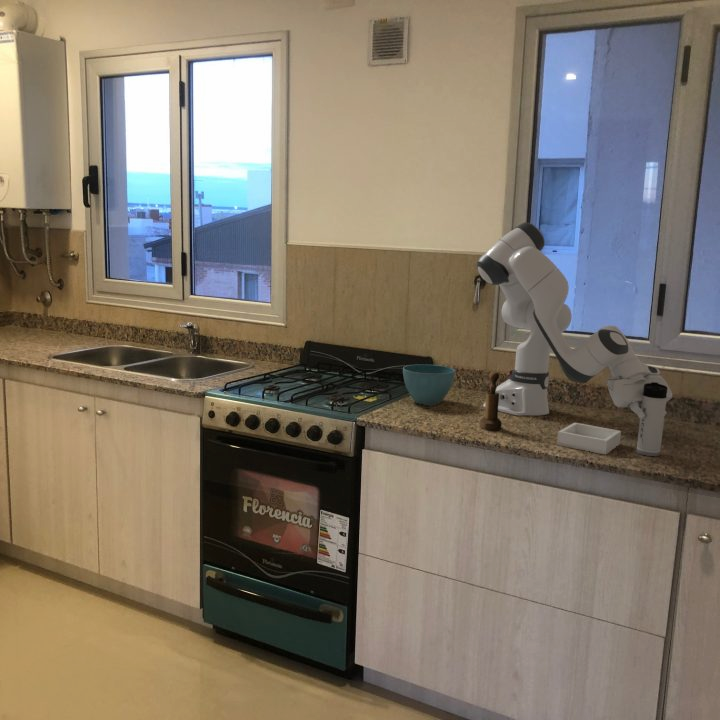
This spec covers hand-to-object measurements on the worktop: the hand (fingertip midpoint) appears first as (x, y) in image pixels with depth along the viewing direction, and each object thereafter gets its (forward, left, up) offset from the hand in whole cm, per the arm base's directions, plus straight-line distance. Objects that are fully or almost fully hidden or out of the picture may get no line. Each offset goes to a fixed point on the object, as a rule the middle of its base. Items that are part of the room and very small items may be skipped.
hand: (653, 416), depth 207 cm
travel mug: (-1, 0, -11) cm, 11 cm away
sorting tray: (-17, -3, -11) cm, 20 cm away
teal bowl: (-79, +10, -11) cm, 80 cm away
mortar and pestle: (-47, -6, -11) cm, 48 cm away
